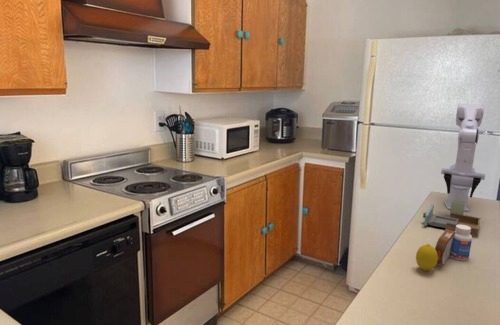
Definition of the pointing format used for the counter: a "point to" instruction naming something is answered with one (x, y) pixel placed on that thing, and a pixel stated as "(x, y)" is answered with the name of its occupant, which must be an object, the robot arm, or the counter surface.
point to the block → (457, 206)
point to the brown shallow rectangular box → (465, 223)
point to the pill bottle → (461, 243)
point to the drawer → (437, 219)
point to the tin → (444, 246)
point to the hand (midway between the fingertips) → (459, 194)
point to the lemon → (426, 257)
